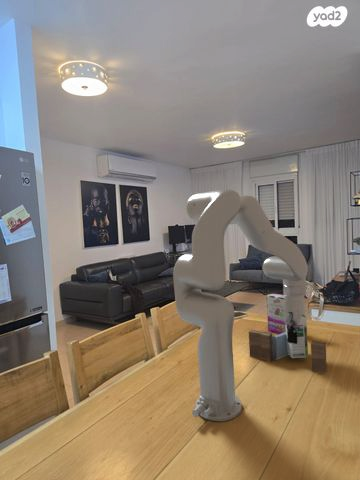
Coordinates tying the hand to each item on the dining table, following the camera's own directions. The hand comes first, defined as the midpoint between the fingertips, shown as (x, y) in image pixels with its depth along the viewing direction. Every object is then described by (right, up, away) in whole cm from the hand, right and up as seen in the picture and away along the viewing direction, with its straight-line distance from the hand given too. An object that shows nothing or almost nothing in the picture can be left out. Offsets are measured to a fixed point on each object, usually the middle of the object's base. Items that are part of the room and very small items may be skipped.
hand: (296, 338), depth 111 cm
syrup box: (0, -6, 0) cm, 6 cm away
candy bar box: (+3, -6, +26) cm, 27 cm away
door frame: (-4, -8, -2) cm, 9 cm away
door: (-2, -7, +3) cm, 8 cm away
